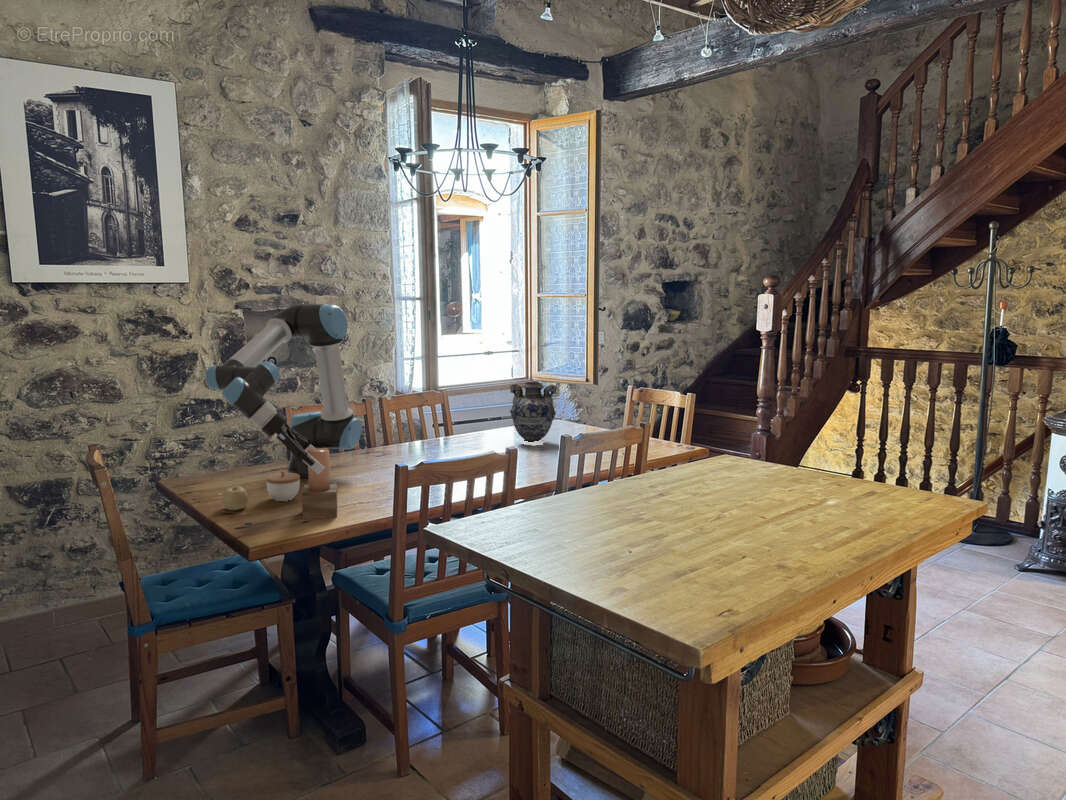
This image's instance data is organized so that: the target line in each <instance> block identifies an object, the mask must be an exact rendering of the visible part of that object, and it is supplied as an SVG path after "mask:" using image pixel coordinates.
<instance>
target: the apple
mask: <svg viewBox="0 0 1066 800" xmlns="http://www.w3.org/2000/svg"><path fill="white" fill-rule="evenodd" d="M221 499H222V500H221V502H222V505H223V507H224V508H225V509H226V510H229V511H239V509H240V510H242V509H244V508H246V506H247V504H248V503H249V499H250V498H249V493H248V491H247V490H246V489H245V488H244V487H242V486H240V485H234V486H230V487H228V488H226V489H225V490H224V491H223V493H222V497H221Z"/></svg>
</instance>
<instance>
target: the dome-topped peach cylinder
mask: <svg viewBox="0 0 1066 800" xmlns="http://www.w3.org/2000/svg"><path fill="white" fill-rule="evenodd" d="M308 453H309V454H310V455H311V456H312V457H313V458H314V459H316V460H317V461H318V462H319V463H320V464H321V465H322V466H324V467H325V468H324V469H323V470H322V472H321V473H320V474H319V475H318V474H317V473H316V472H315V471H314V470H312V469H311V468H310V467H309V466H308V475H309V478H308V485H309V490H311V491H325V490H328V489H330V484H331V462H330V461H331V460H330V459H331V457H330V448H318V449H311V450H308Z"/></svg>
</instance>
